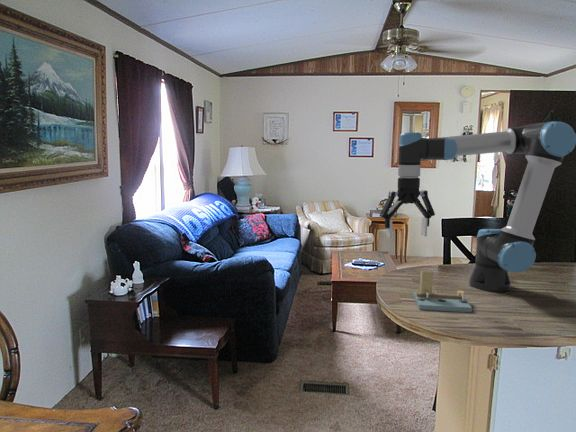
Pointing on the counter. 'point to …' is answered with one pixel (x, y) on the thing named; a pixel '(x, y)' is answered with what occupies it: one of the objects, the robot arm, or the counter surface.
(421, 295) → the board
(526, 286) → the counter surface
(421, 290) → the block
